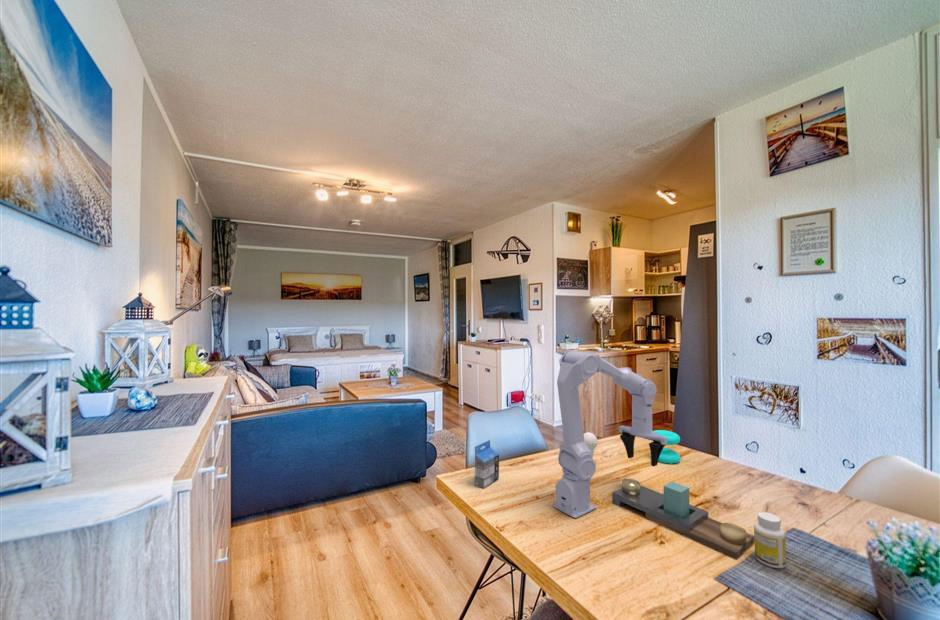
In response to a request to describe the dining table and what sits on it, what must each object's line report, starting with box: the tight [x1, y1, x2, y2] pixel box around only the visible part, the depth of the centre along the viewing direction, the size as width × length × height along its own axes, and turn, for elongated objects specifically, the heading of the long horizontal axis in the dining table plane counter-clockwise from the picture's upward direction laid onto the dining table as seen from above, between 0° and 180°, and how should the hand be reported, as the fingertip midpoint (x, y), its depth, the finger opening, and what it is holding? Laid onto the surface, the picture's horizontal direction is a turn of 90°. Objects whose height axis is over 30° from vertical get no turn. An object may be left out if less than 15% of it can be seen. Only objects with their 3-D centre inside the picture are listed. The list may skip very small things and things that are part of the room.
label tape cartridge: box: [474, 439, 500, 489], centre depth 121 cm, size 9×4×12 cm, turn 143°
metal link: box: [611, 478, 709, 532], centre depth 103 cm, size 11×21×5 cm, turn 36°
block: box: [663, 481, 690, 519], centre depth 99 cm, size 4×4×9 cm
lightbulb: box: [583, 431, 599, 459], centre depth 138 cm, size 6×6×11 cm
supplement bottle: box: [753, 511, 787, 569], centre depth 83 cm, size 5×5×10 cm
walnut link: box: [645, 512, 754, 560], centre depth 95 cm, size 11×21×4 cm, turn 36°
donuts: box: [650, 429, 681, 465], centre depth 141 cm, size 10×10×10 cm
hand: (642, 461), depth 115 cm, fingers open, 7 cm apart
